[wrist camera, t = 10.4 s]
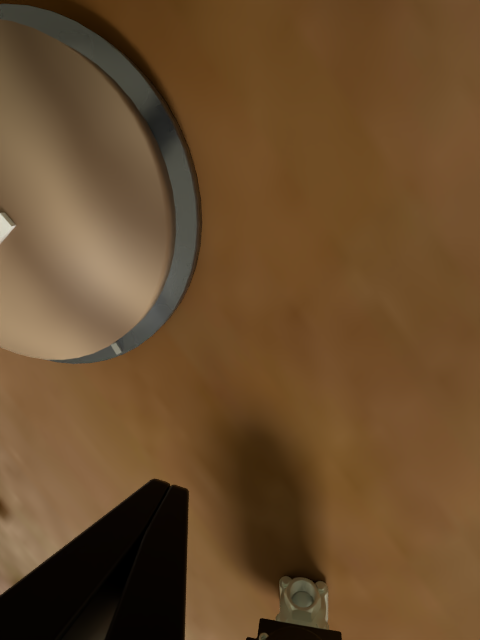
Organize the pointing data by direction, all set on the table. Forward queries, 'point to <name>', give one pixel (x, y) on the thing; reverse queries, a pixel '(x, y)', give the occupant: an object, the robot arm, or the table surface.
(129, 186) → the dial
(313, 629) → the pneumatic valve
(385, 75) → the table surface
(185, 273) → the dial housing
